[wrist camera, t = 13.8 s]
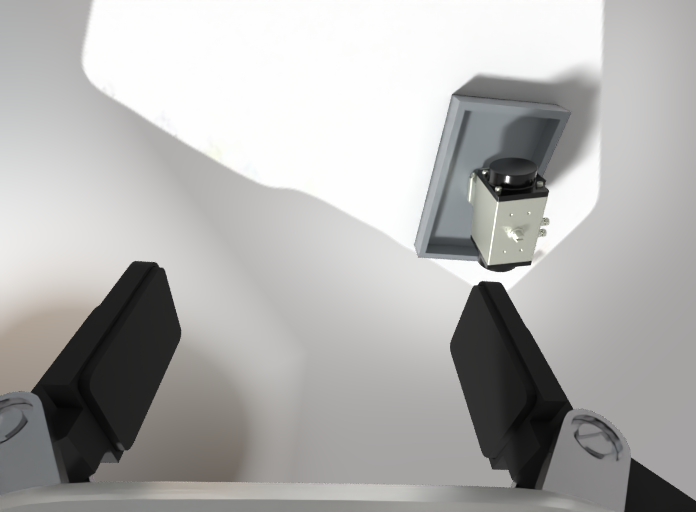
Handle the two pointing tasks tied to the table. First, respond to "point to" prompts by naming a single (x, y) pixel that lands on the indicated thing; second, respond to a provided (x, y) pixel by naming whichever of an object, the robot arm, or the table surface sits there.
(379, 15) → the table surface
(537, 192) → the pneumatic valve
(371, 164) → the table surface
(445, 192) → the parts tray
